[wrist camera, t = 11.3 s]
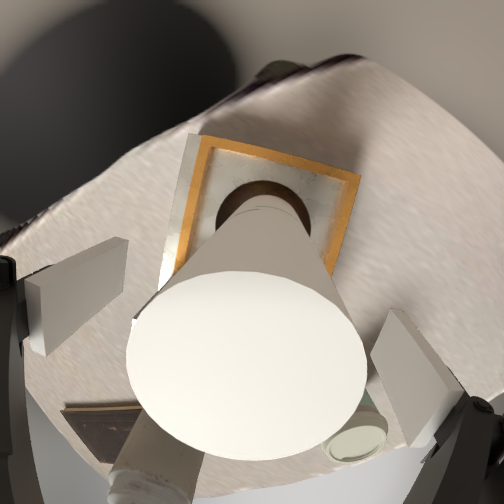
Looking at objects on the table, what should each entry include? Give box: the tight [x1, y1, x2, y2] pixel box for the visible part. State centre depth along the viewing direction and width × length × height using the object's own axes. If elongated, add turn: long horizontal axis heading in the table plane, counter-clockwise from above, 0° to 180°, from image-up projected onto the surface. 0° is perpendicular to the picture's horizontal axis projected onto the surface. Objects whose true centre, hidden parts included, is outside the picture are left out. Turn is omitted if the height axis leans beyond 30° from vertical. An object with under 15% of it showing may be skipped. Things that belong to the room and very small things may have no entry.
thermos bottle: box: [107, 408, 205, 504], centre depth 28 cm, size 8×8×28 cm
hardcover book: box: [60, 405, 143, 464], centre depth 47 cm, size 16×23×2 cm
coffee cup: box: [320, 389, 388, 464], centre depth 35 cm, size 8×8×12 cm
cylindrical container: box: [126, 195, 367, 461], centre depth 20 cm, size 7×7×25 cm
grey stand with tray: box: [132, 133, 361, 328], centre depth 28 cm, size 18×22×18 cm
